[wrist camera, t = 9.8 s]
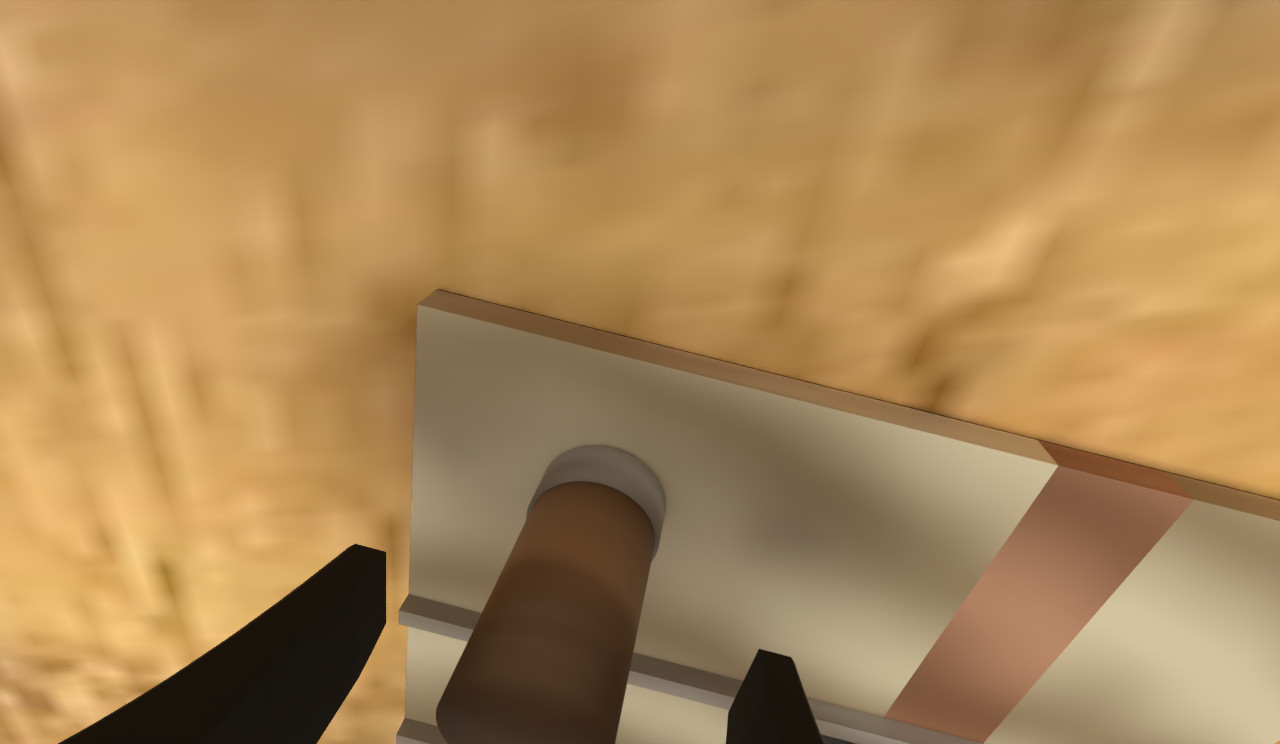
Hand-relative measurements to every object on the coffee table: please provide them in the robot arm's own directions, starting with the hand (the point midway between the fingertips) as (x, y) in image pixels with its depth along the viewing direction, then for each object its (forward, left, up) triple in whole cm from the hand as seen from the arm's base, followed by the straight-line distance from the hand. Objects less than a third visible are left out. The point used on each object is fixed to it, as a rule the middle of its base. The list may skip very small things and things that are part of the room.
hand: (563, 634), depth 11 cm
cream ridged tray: (-5, -7, -5) cm, 10 cm away
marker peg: (0, 0, -4) cm, 4 cm away
